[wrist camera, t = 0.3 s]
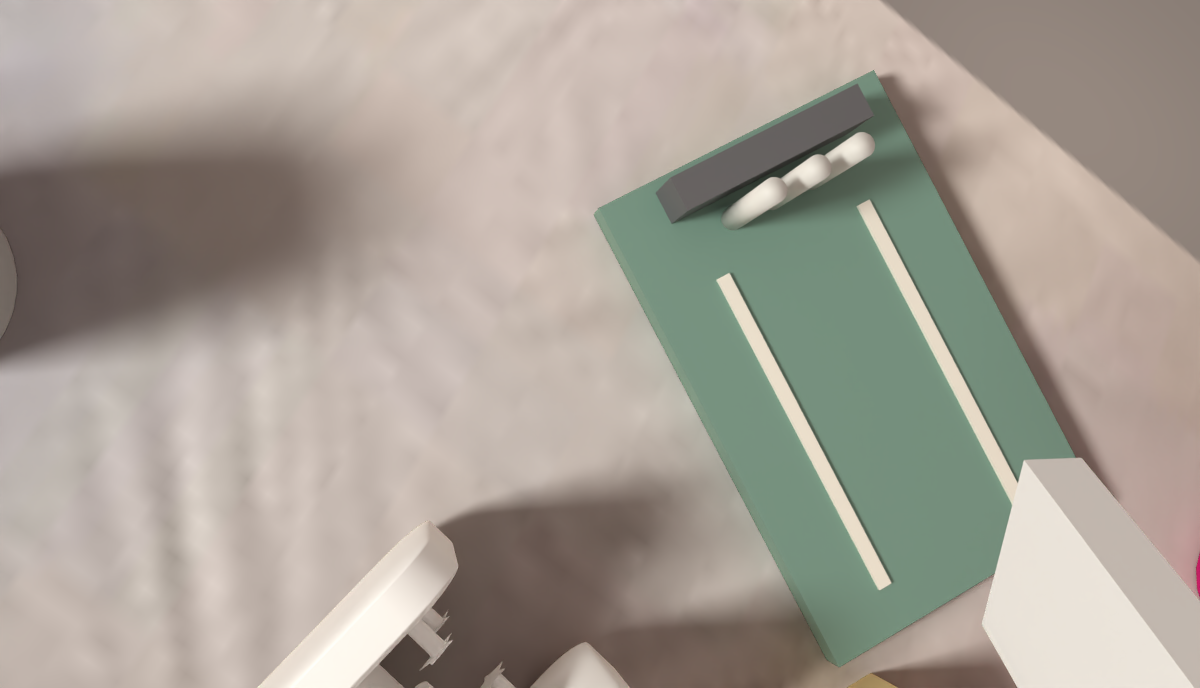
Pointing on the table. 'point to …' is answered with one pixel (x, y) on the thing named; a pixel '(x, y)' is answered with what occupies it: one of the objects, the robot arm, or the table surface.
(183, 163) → the table surface
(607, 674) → the cable organizer
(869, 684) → the plug block
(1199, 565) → the pepper mill
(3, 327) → the grey mug
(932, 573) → the board
